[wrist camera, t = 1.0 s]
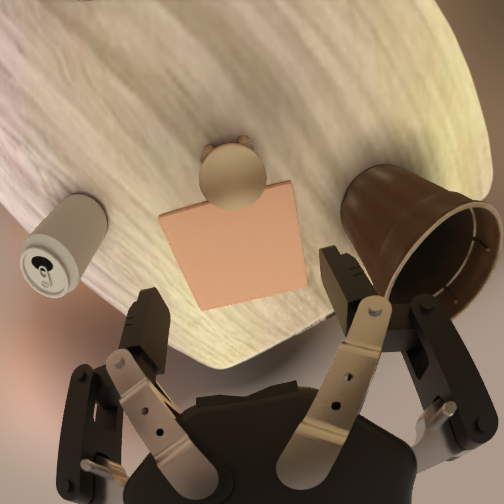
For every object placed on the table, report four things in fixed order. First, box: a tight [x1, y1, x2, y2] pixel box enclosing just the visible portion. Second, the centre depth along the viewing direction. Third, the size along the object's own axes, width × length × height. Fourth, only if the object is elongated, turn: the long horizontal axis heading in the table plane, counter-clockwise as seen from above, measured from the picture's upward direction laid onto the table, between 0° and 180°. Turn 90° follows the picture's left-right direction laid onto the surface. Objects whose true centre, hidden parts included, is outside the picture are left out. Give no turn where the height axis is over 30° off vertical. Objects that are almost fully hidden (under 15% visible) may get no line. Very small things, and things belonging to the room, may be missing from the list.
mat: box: [158, 181, 307, 311], centre depth 36 cm, size 16×16×1 cm
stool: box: [199, 135, 267, 210], centre depth 27 cm, size 6×6×6 cm
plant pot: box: [341, 165, 503, 321], centre depth 28 cm, size 16×16×16 cm
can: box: [20, 194, 107, 298], centre depth 26 cm, size 8×8×12 cm
